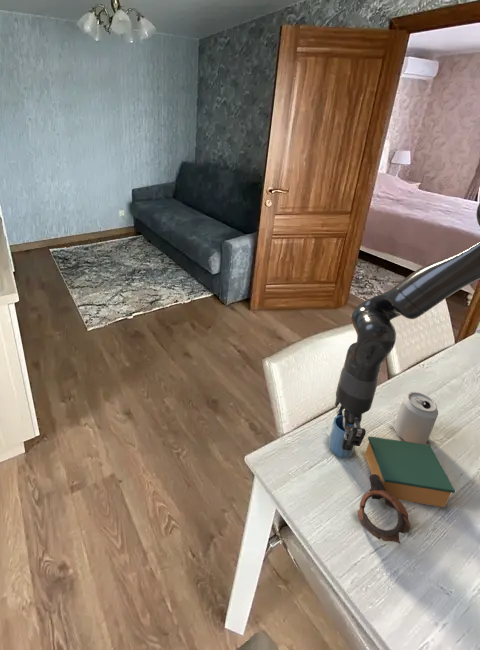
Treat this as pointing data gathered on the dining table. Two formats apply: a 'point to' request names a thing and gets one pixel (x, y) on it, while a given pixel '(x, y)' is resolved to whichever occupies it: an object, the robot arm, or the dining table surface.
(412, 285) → the robot arm
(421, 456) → the container
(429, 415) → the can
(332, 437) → the cup
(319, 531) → the dining table surface
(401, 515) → the brown jagged ring
